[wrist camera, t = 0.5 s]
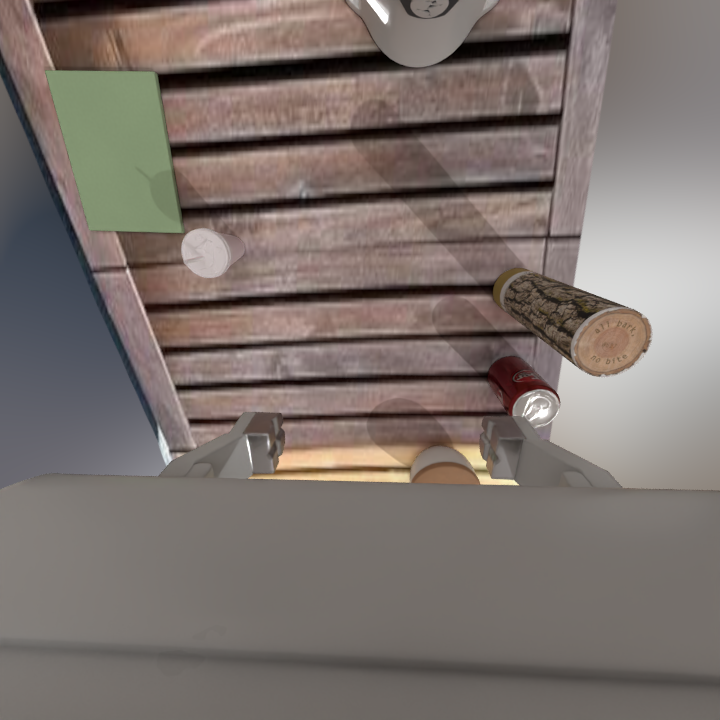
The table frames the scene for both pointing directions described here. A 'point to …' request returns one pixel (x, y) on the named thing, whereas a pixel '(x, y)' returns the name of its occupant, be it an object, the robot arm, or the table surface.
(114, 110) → the pad
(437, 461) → the lidded bowl
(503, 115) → the table surface
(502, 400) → the soda can
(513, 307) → the paper tube
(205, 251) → the smoothie
